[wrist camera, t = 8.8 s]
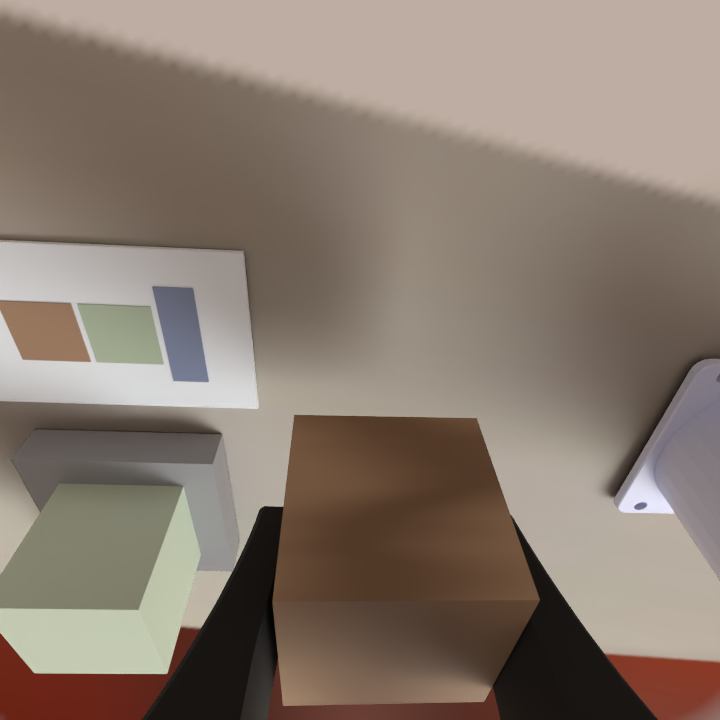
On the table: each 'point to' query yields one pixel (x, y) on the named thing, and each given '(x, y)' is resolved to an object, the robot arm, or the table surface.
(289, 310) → the table surface
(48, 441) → the slab
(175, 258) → the blueprint sheet
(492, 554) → the block
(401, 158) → the table surface
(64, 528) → the block
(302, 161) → the table surface
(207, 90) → the table surface
